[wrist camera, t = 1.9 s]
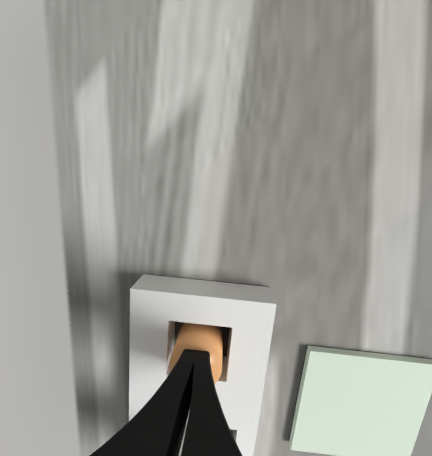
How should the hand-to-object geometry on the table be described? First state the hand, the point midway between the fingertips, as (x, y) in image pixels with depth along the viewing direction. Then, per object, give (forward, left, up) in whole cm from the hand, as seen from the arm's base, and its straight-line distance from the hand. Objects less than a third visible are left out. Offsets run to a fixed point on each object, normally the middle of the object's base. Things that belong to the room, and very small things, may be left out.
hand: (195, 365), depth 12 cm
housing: (-3, -3, -3) cm, 6 cm away
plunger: (0, 0, -2) cm, 2 cm away
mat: (+5, -11, -3) cm, 12 cm away
